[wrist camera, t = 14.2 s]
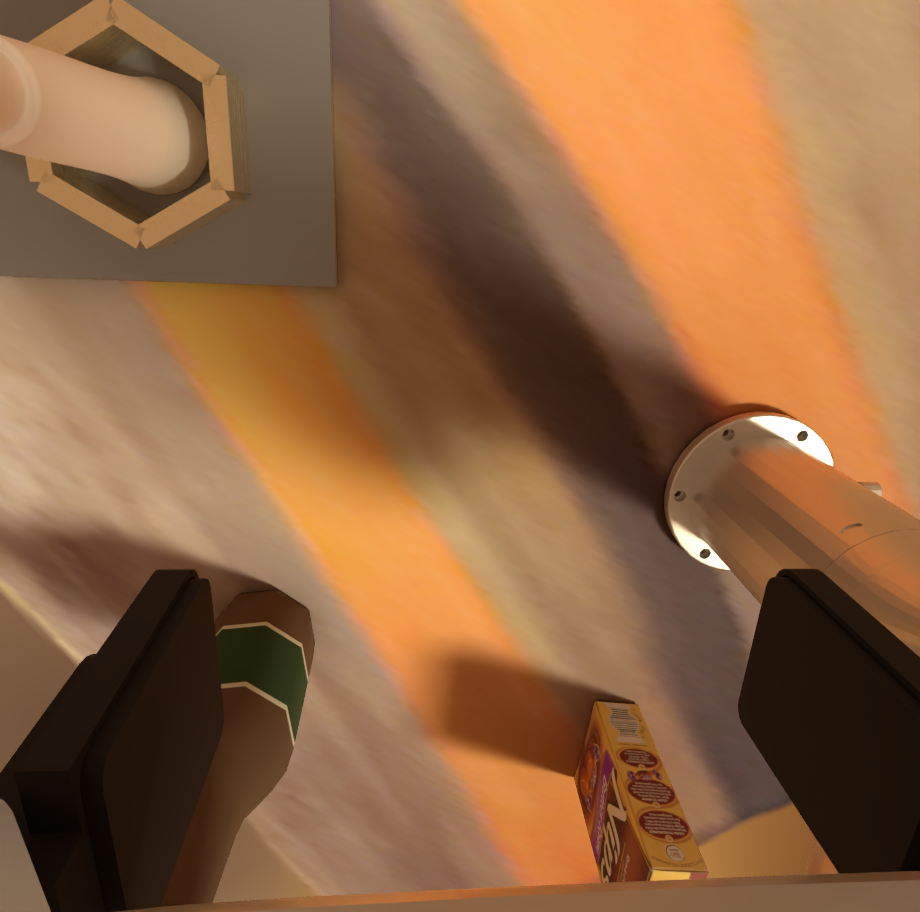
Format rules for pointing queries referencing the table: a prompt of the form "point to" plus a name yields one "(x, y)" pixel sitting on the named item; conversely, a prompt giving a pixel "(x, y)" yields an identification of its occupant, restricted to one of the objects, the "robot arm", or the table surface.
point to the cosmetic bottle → (99, 119)
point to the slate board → (270, 157)
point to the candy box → (632, 802)
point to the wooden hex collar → (125, 29)
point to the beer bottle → (246, 731)
